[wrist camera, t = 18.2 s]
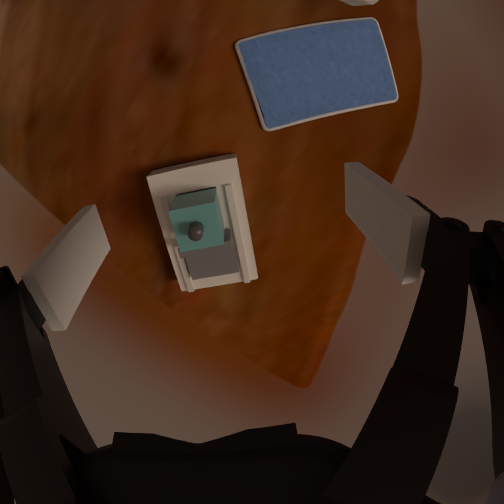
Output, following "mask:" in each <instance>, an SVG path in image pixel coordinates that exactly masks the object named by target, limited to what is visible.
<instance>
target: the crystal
mask: <svg viewBox="0 0 504 504" xmlns="http://www.w3.org/2000/svg"><path fill="white" fill-rule="evenodd" d="M340 1H343V2H345V3H347V4H349V5H352V6H359V5H373V4H375V3H376V2H377V1H379V0H340Z"/></svg>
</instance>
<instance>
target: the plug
mask: <svg viewBox="0 0 504 504" xmlns="http://www.w3.org/2000/svg"><path fill="white" fill-rule="evenodd" d="M168 212H169V216H170V219H171V223H172V226H173V230H174V233H175V236H176V240H177V243H178V246H179V250H180V252H185V251H191V250H196V249H202V248H207V247H213V246H219V245H224V221H223V217H222V212H221V207H220V203H219V198H218V193H217V188H213V189H208V190H203V191H198V192H193V193H188V194H183V195H179V196H176V197H175V199H174V201H173V203H172V205H171V207H170V209H169V211H168Z"/></svg>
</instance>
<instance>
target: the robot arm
mask: <svg viewBox="0 0 504 504" xmlns="http://www.w3.org/2000/svg"><path fill="white" fill-rule="evenodd" d="M345 212H346V214H347V215H348V216H349V217H350V218H351V220H352V221H353V222H354V223H355V224H356V226H357V227H358V228H359V229H360V231H361V232H362V233H363V234H364V236H365V237H366V238H367V239H368V241H369V242H370V243H371V244H372V246H373V247H374V248H375V249H376V251H377V252H378V253H379V255H380V256H381V257H382V259H383V260H384V261H385V262H386V264H387V265H388V266H389V268H390V269H391V270H392V272H393V273H394V274H395V276H396V277H397V279H398V280H399V281H400V282H401V284H402V285H403V284H407V283H412V282H416V281H419V277H420V272H421V267H422V268H423V269H424V270H425V273H424V277H423V281H422V284H421V288H420V291H419V294H418V297H417V301H416V304H415V307H414V310H413V313H412V317H411V319H410V322H409V325H408V328H407V331H406V334H405V336H404V339H403V342H402V344H401V347H400V350H399V353H398V355H397V358H396V360H395V362H394V365H393V367H392V368H391V369H390V371H389V373H388V376H387V378H386V380H385V382H384V385H383V387H382V389H381V391H380V393H379V396H378V398H377V400H376V402H375V404H374V406H373V408H372V410H371V412H370V414H369V416H368V418H367V420H366V422H365V424H364V426H363V428H362V430H361V432H360V433H359V435H358V437H357V439H356V441H355V443H354V444H353V446H352V448H349V447H347V446H345V445H343V444H341V443H339V442H336V441H333V440H330V439H327V438H323V437H319V436H312V435H303V434H297V429H296V424H295V423H290V424H284V425H278V426H271V427H263V428H255V429H247V430H244V431H241V432H238V433H235V434H232V435H229V436H225V437H222V438H219V439H215V440H212V441H208V442H204V443H200V444H199V443H198V444H197V443H190V442H186V441H181V440H176V439H172V438H168V437H164V436H160V435H156V434H148V433H147V434H145V433H123V432H114V437H113V442H112V444H110V445H106V446H103V447H100V448H97V446H96V445H95V443H94V441H93V439H92V437H91V435H90V434H89V432H88V430H87V428H86V426H85V424H84V422H83V420H82V418H81V416H80V414H79V412H78V410H77V408H76V406H75V404H74V402H73V400H72V397H71V395H70V393H69V391H68V388H67V386H66V384H65V381H64V379H63V377H62V374H61V372H60V369H59V367H58V364H57V362H56V359H55V356H54V354H53V351H52V348H51V345H50V342H49V339H48V336H47V333H46V332H45V330H44V329H43V327H42V325H43V324H44V322H45V320H46V322H47V323H48V325H49V327H50V328H51V330H52V331H65V330H66V329H67V327H68V325H69V323H70V321H71V319H72V317H73V314H74V313H75V311H76V309H77V307H78V305H79V303H80V301H81V299H82V297H83V296H84V294H85V292H86V290H87V288H88V286H89V285H90V283H91V281H92V279H93V277H94V276H95V274H96V272H97V270H98V269H99V267H100V265H101V263H102V262H103V260H104V258H105V257H106V255H107V253H108V252H109V250H110V245H109V243H108V240H107V237H106V234H105V232H104V229H103V226H102V223H101V220H100V217H99V214H98V211H97V208H96V205H95V204H92V205H88V206H84V207H83V208H82V209H81V210H80V211H79V212H78V213H77V214H76V215H75V216H74V217H73V218H72V219H71V220H70V221H69V222H68V223H67V224H66V225H65V226H64V228H63V229H62V230H61V231H60V232H59V233H58V234H57V235H56V236H55V237H54V238H53V240H52V241H51V242H50V243H49V244H48V245H47V246H46V248H45V249H44V250H43V251H42V252H41V253H40V254H39V256H38V257H37V258H36V259H35V260H34V261H33V263H32V264H31V265H30V266H29V268H28V269H27V270H26V271H25V272H24V274H23V275H22V276H21V277H22V280H21V281H20V282H19V283H18V284H17V282H16V281H15V279H14V277H13V275H12V273H11V271H10V269H9V267H8V266H4V267H1V268H0V504H14V498H15V501H16V504H441V503H439V502H437V501H435V500H433V499H431V498H430V497H428V496H426V495H425V494H426V492H427V490H428V487H429V485H430V483H431V480H432V478H433V475H434V473H435V470H436V467H437V465H438V462H439V459H440V456H441V454H442V450H443V448H444V445H445V441H446V438H447V435H448V432H449V428H450V425H451V422H452V418H453V414H454V411H455V407H456V402H457V398H458V392H459V391H458V387H456V386H454V382H455V376H456V372H457V367H458V362H459V357H460V351H461V345H462V339H463V332H464V325H465V317H466V307H467V297H468V284H470V288H471V291H472V295H473V299H474V303H475V307H476V311H477V315H478V320H479V325H480V330H481V334H482V340H483V345H484V351H485V358H486V364H487V372H488V380H489V389H490V400H491V414H492V448H493V466H494V474H495V480H494V482H493V484H492V486H491V487H490V490H489V494H488V496H487V497H486V498H485V500H484V504H504V222H501V221H495V220H488V221H486V222H485V223H484V228H483V232H470V229H469V227H468V225H467V224H465V223H464V222H462V221H461V220H458V219H455V218H449V217H445V218H440V217H439V216H438V215H437V214H435V213H434V212H433V211H432V210H430V209H428V207H426V206H425V205H423V204H422V203H421V202H420V201H418V200H417V199H415V198H413V197H410V196H408V195H405V194H403V193H402V192H401V191H399V190H398V189H397V188H395V187H394V186H392V185H391V184H390V183H388V182H387V181H386V180H384V179H383V178H381V177H380V176H378V175H377V174H375V173H374V172H373V171H371V170H370V169H368V168H367V167H365V166H364V165H362V164H361V163H359V162H349V163H345Z"/></svg>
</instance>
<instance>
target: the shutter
mask: <svg viewBox="0 0 504 504" xmlns="http://www.w3.org/2000/svg"><path fill="white" fill-rule="evenodd" d="M178 253H179V256H180V259H181V258H186V261H187V265H188V268H189V271H190V274H191V278H192V280H196V279H202V278H208V277H214V276H220V275H226V274H232V273H238V272H239V267H238V262H237V257H236V253H235V248H234V243H233V239H232V234H231V229H224V245H219V246H213V247H207V248H202V249H196V250H191V251H185V252H180V250H179V247H178Z"/></svg>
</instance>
